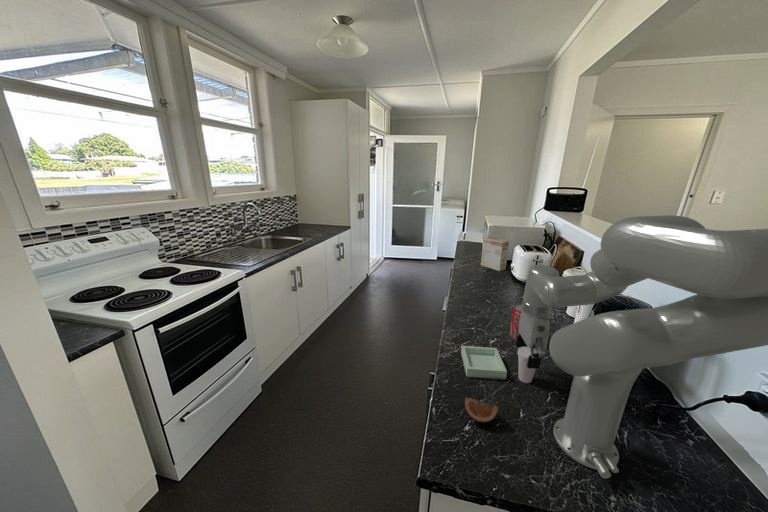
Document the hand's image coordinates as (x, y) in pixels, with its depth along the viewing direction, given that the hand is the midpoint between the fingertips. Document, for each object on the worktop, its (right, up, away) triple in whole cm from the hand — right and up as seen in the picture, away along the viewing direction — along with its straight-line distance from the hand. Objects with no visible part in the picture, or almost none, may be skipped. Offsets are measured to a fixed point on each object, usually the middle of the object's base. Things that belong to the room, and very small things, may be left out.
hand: (526, 356), depth 85 cm
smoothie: (0, -8, +1) cm, 8 cm away
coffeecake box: (+30, +23, +102) cm, 109 cm away
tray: (-11, -6, +8) cm, 15 cm away
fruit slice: (-19, -12, -12) cm, 25 cm away
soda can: (+9, -1, +23) cm, 24 cm away
